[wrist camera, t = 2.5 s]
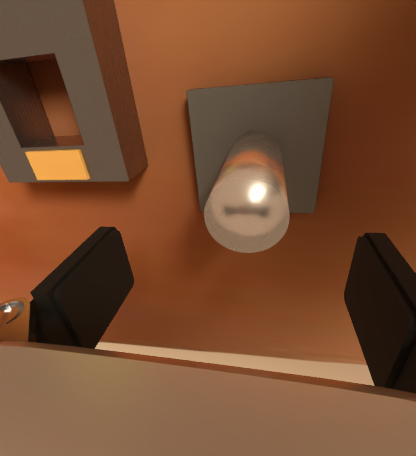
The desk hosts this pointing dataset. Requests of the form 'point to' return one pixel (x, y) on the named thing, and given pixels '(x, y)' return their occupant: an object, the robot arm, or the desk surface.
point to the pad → (264, 121)
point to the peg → (249, 196)
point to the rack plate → (77, 91)
